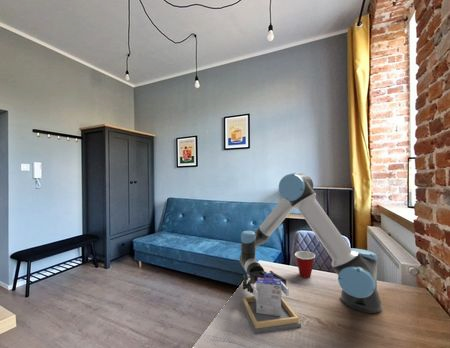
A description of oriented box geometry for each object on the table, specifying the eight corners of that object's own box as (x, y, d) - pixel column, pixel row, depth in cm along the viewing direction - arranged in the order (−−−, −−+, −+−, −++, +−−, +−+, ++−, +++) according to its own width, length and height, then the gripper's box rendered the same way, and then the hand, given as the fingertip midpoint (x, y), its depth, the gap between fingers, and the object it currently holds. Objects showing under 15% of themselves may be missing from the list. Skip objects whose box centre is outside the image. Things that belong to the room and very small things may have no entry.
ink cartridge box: (281, 308, 90) (281, 273, 90) (281, 317, 85) (282, 279, 85) (256, 305, 92) (256, 271, 92) (255, 313, 86) (256, 277, 87)
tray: (279, 299, 99) (279, 292, 99) (301, 326, 81) (301, 318, 81) (240, 303, 95) (240, 296, 95) (254, 333, 77) (254, 325, 77)
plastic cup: (290, 272, 126) (290, 251, 126) (306, 270, 129) (306, 249, 129) (302, 281, 115) (302, 258, 115) (319, 278, 118) (319, 256, 118)
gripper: (277, 275, 108) (301, 300, 87) (229, 279, 103) (242, 307, 82) (277, 260, 108) (301, 281, 87) (229, 263, 103) (242, 287, 82)
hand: (272, 294), depth 84 cm, fingers open, 12 cm apart
